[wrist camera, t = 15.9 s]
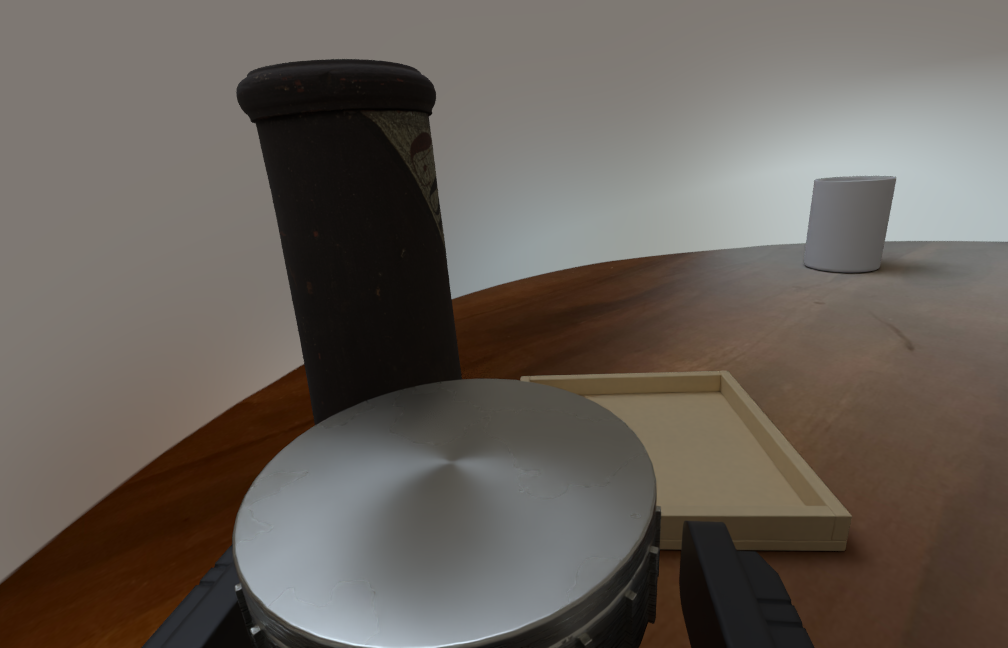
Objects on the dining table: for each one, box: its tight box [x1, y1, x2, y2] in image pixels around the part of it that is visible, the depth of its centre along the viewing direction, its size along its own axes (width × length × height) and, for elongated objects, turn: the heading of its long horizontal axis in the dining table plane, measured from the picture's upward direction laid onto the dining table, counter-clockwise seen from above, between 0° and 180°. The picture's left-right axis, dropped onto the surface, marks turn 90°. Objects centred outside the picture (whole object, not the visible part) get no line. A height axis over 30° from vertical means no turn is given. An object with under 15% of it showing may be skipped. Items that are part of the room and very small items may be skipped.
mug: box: [804, 176, 896, 273], centre depth 60 cm, size 12×8×10 cm, turn 165°
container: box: [237, 59, 462, 425], centre depth 26 cm, size 9×9×20 cm
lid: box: [232, 379, 661, 648], centre depth 8 cm, size 6×6×2 cm
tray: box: [521, 371, 852, 551], centre depth 25 cm, size 13×13×2 cm
